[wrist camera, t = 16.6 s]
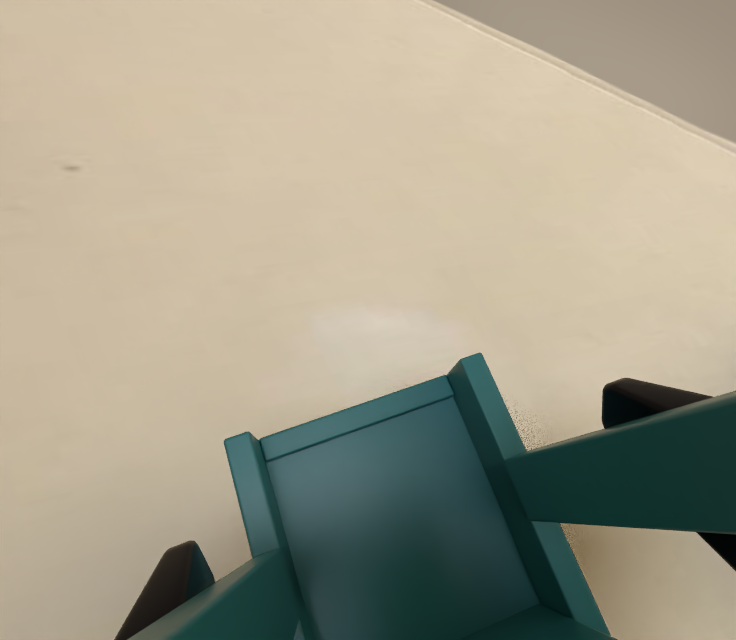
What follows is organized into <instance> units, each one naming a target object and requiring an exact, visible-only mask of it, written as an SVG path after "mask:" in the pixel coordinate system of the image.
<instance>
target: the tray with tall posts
mask: <svg viewBox="0 0 736 640" xmlns="http://www.w3.org/2000/svg"><path fill="white" fill-rule="evenodd" d="M224 446H225V450H226V454H227V458H228V462H229V466H230V470H231V474H232V478H233V482H234V486H235V490H236V494H237V498H238V502H239V506H240V510H241V514H242V518H243V522H244V526H245V530H246V534H247V538H248V542H249V546H250V550H251V554H252V558H253V559H251V560H250V561H248V562H247V563H245V564H244V565H242V566H240V567H239V568H237V569H236V570H234V571H233V572H231V573H230V574H228V575H227V576H225V577H223V578H222V579H220V580H219V581H217V582H216V583H214V584H213V585H211V586H209V587H208V588H206V589H205V590H203V591H202V592H200V593H199V594H197V595H196V596H194V597H192V598H191V599H189V600H188V601H186V602H185V603H183V604H182V605H180V606H179V607H177V608H175V609H174V610H172V611H171V612H169V613H168V614H166V615H165V616H163V617H162V618H160V619H158V620H157V621H155V622H154V623H152V624H151V625H149V626H148V627H146V628H145V629H143V630H141V631H140V632H138V633H137V634H135V635H134V636H132V637H131V638H129V639H128V640H617V639H615V638H613V637H611V635H610V633H609V630H608V628H607V626H606V624H605V622H604V619H603V617H602V615H601V613H600V611H599V609H598V606H597V604H596V602H595V600H594V598H593V595H592V593H591V591H590V589H589V587H588V585H587V582H586V580H585V578H584V576H583V574H582V571H581V569H580V567H579V565H578V563H577V560H576V558H575V556H574V554H573V552H572V550H571V547H570V545H569V543H568V541H567V539H566V536H565V534H564V532H563V530H562V528H561V526H560V523H570V524H585V525H601V526H616V527H631V528H646V529H661V530H677V531H692V532H707V533H722V534H736V391H733V392H730V393H726V394H723V395H720V396H716V397H713V398H709V399H706V400H702V401H699V402H695V403H692V404H688V405H685V406H682V407H678V408H675V409H671V410H668V411H664V412H661V413H657V414H654V415H650V416H647V417H643V418H640V419H637V420H633V421H630V422H626V423H623V424H619V425H616V426H612V427H609V428H605V429H602V430H599V431H595V432H592V433H588V434H585V435H581V436H578V437H574V438H571V439H567V440H564V441H560V442H557V443H554V444H550V445H547V446H543V447H540V448H536V449H533V450H529V451H526V449H525V447H524V445H523V442H522V440H521V438H520V436H519V434H518V432H517V429H516V427H515V425H514V423H513V421H512V418H511V416H510V414H509V412H508V410H507V408H506V405H505V403H504V401H503V399H502V397H501V394H500V392H499V390H498V388H497V386H496V383H495V381H494V379H493V377H492V375H491V373H490V370H489V368H488V366H487V364H486V362H485V359H484V357H483V355H482V353H477V354H474V355H471V356H468V357H465V358H462V359H460V360H459V361H458V363H457V364H456V365H455V366H454V367H453V368H452V370H451V371H450V372H449V373H448V374H447V375H443V376H440V377H437V378H435V379H432V380H429V381H426V382H423V383H420V384H417V385H414V386H411V387H408V388H405V389H403V390H400V391H397V392H394V393H391V394H388V395H385V396H382V397H379V398H376V399H373V400H371V401H368V402H365V403H362V404H359V405H356V406H353V407H350V408H347V409H344V410H341V411H339V412H336V413H333V414H330V415H327V416H324V417H321V418H318V419H315V420H312V421H309V422H307V423H304V424H301V425H298V426H295V427H292V428H289V429H286V430H283V431H280V432H277V433H275V434H272V435H269V436H266V437H263V438H261V439H260V440H258V439H256V438H255V437H254V436H253V435H252V434H251V433H250V432H245V433H242V434H239V435H236V436H233V437H230V438H227V439H225V440H224Z"/></svg>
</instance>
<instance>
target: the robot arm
mask: <svg viewBox="0 0 736 640" xmlns="http://www.w3.org/2000/svg"><path fill="white" fill-rule="evenodd" d="M709 398H713V397H712V396H707V395H703V394H698V393H694V392H689V391H685V390H680V389H676V388H671V387H666V386H662V385H657V384H653V383H648V382H644V381H639V380H635V379H630V378H622V379H619V380H616V381H614V382H611V383H608V384H607V385H605V387H604V389H603V396H602V423H603V426H604V428H609V427H612V426H616V425H619V424H623V423H626V422H630V421H633V420H637V419H640V418H643V417H647V416H650V415H654V414H657V413H661V412H664V411H668V410H671V409H675V408H678V407H682V406H685V405H688V404H692V403H695V402H699V401H702V400H706V399H709ZM697 533H698V534H699V535H700V536H701V537H702V538H703V539H704V540H705V541H706V542H707V543H708V544H709V545H710V546H711V547H712V548H713V549H714V550H715V551H716V552H717V553H718V554H719V555H720V556H721V557H722V558H723V559H724V560H725V561H726V562H727V563H728V564H729V565H730V566H731V567H732V568H733V569H734V570H735V571H736V534H722V533H707V532H697ZM214 583H215V580H214V577H213V574H212V572H211V570H210V568H209V566H208V564H207V562H206V560H205V558H204V556H203V554H202V552H201V550H200V548H199V546H198V544H197V543H196V542H195V541H187V542H185V543H182V544H179V545H177V546H174V547H171V548H169V549H168V550H167V551H166V552H165V553H164V555H163V556H162V558H161V560H160V562H159V563H158V565H157V567H156V568H155V570H154V572H153V574H152V575H151V577H150V579H149V581H148V582H147V584H146V586H145V587H144V589H143V591H142V593H141V594H140V596H139V598H138V599H137V601H136V603H135V605H134V606H133V608H132V610H131V612H130V613H129V615H128V617H127V618H126V620H125V622H124V624H123V625H122V627H121V629H120V631H119V632H118V634H117V636H116V637H115V639H114V640H128V639H129V638H131V637H132V636H134V635H135V634H137V633H138V632H140V631H141V630H143V629H145V628H146V627H148V626H149V625H151V624H152V623H154V622H155V621H157V620H158V619H160V618H162V617H163V616H165V615H166V614H168V613H169V612H171V611H172V610H174V609H175V608H177V607H179V606H180V605H182V604H183V603H185V602H186V601H188V600H189V599H191V598H192V597H194V596H196V595H197V594H199V593H200V592H202V591H203V590H205V589H206V588H208V587H209V586H211V585H213V584H214Z"/></svg>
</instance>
